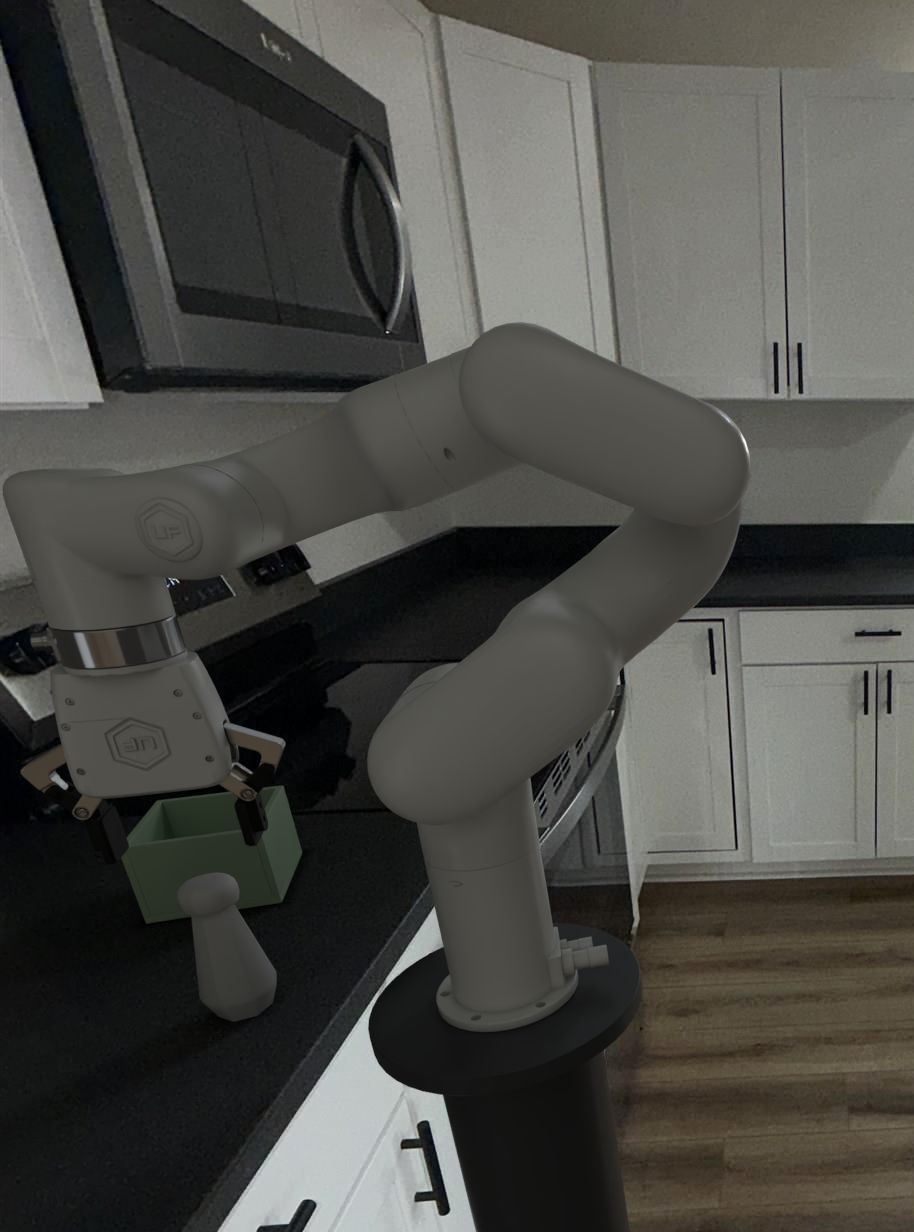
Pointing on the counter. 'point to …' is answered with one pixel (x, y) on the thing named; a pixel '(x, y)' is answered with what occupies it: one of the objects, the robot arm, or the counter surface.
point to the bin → (210, 851)
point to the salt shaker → (226, 949)
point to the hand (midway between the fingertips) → (188, 847)
